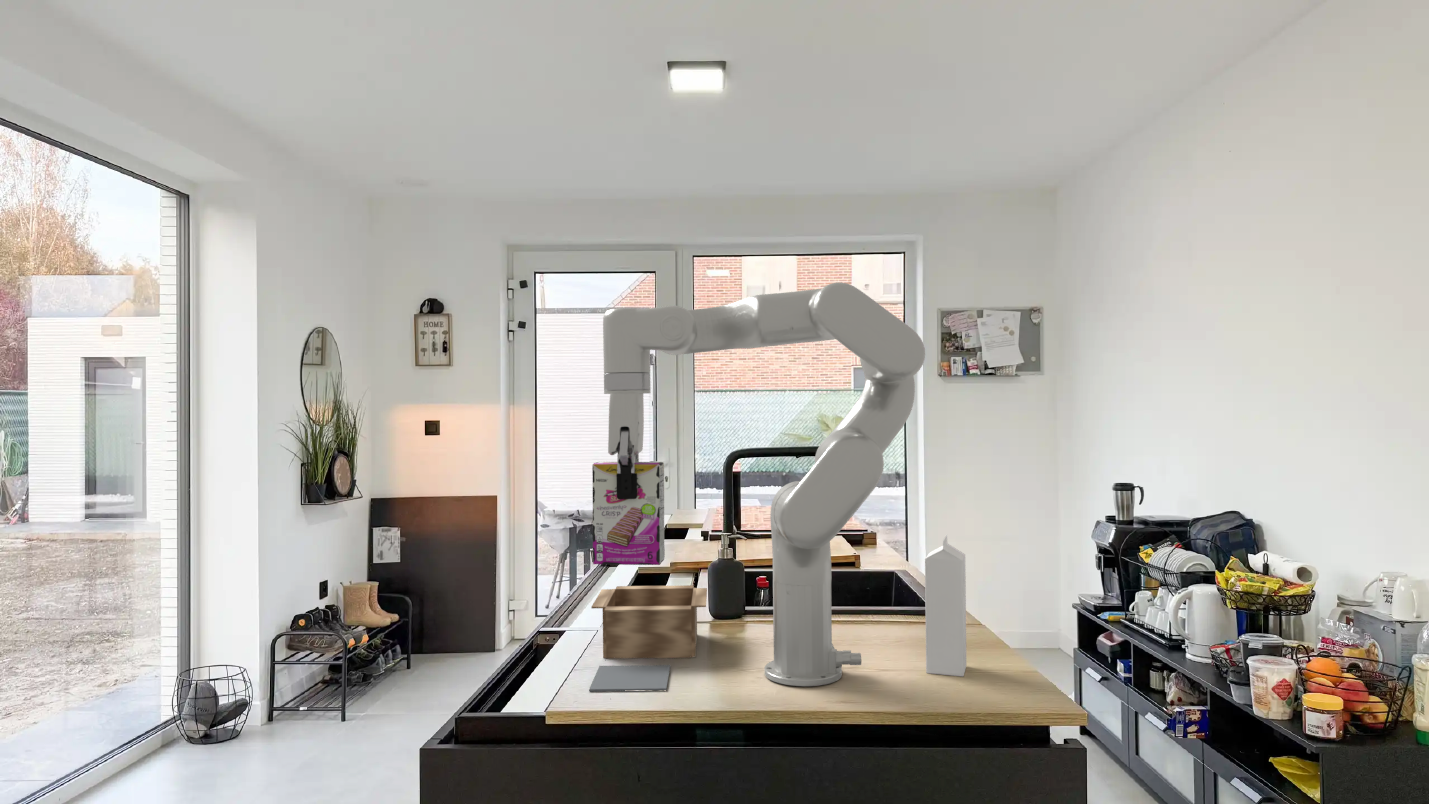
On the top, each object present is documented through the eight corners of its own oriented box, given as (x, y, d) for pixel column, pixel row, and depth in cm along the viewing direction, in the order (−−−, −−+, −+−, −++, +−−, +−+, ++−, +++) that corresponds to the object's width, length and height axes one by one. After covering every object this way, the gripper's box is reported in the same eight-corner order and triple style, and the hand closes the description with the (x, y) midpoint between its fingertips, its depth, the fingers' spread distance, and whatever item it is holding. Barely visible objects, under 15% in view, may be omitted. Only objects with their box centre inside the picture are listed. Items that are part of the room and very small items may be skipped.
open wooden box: (707, 631, 172) (707, 585, 171) (706, 660, 152) (705, 608, 152) (604, 632, 172) (603, 586, 172) (589, 662, 152) (589, 610, 152)
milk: (966, 666, 148) (966, 535, 148) (963, 677, 142) (963, 540, 142) (929, 662, 150) (929, 533, 150) (925, 673, 144) (924, 538, 144)
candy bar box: (591, 565, 141) (590, 463, 141) (599, 560, 146) (597, 461, 146) (661, 566, 140) (659, 462, 140) (665, 560, 145) (664, 460, 145)
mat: (670, 667, 149) (670, 664, 149) (666, 690, 137) (666, 688, 137) (599, 668, 149) (599, 665, 149) (589, 691, 137) (589, 689, 137)
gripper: (610, 385, 151) (612, 491, 151) (596, 384, 134) (598, 503, 134) (654, 385, 151) (655, 490, 151) (646, 383, 134) (647, 502, 134)
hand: (628, 495), depth 143 cm, fingers closed on candy bar box, 5 cm apart
